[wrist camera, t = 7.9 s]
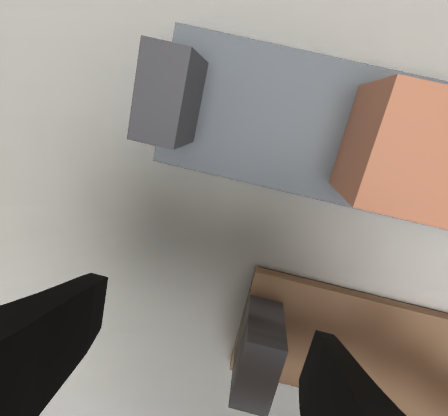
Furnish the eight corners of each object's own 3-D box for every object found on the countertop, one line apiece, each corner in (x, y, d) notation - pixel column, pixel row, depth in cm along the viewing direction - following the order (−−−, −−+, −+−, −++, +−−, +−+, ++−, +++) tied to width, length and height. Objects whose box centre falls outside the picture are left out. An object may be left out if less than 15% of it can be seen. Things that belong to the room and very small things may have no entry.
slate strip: (472, 233, 19) (548, 275, 14) (157, 158, 20) (122, 173, 15) (531, 103, 17) (643, 98, 12) (178, 26, 18) (147, -9, 13)
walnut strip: (505, 432, 22) (576, 525, 17) (230, 360, 23) (222, 430, 18) (558, 340, 20) (656, 415, 15) (256, 266, 21) (254, 314, 16)
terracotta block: (422, 205, 18) (481, 237, 13) (328, 183, 18) (352, 207, 13) (461, 107, 17) (541, 105, 12) (359, 85, 17) (398, 73, 12)
